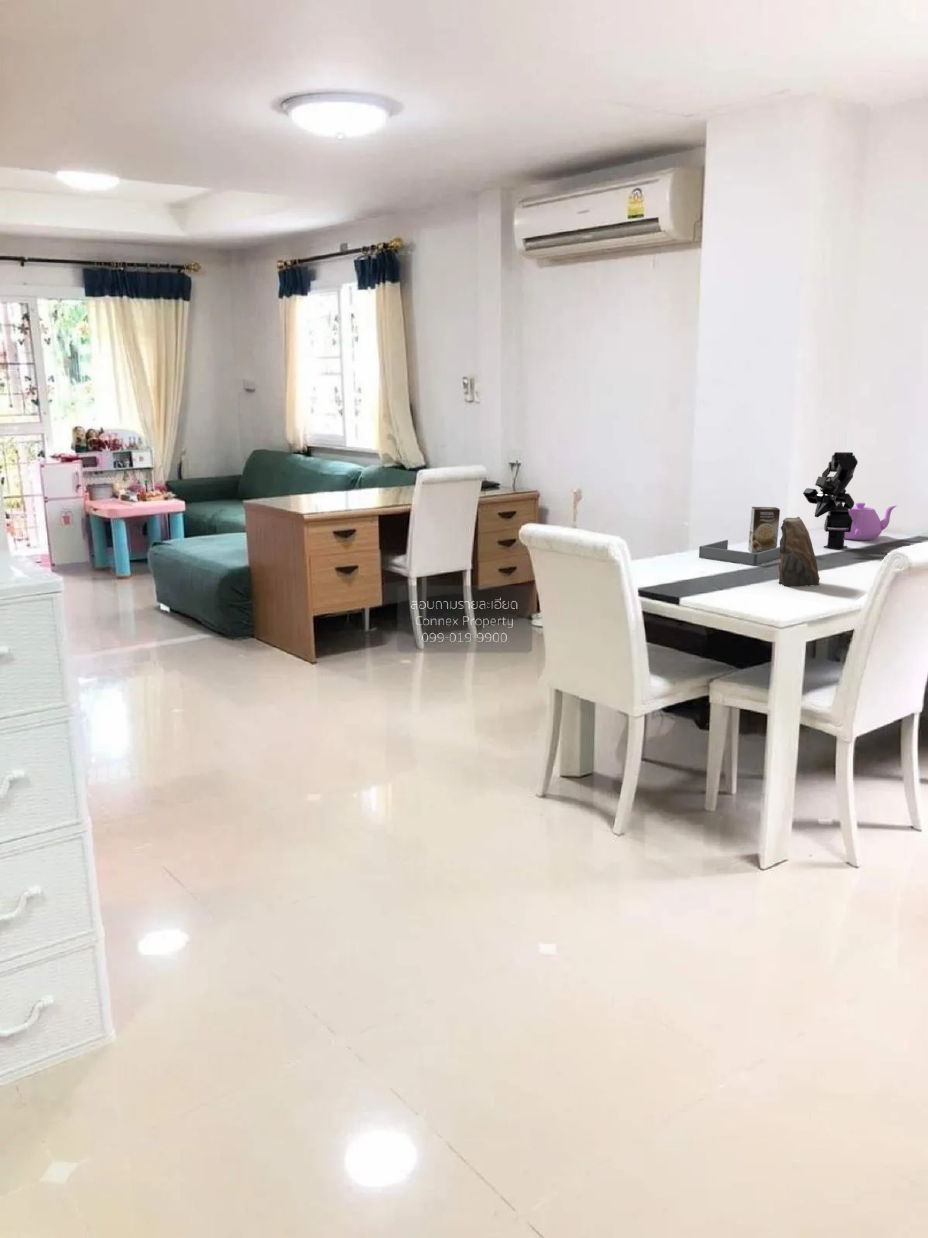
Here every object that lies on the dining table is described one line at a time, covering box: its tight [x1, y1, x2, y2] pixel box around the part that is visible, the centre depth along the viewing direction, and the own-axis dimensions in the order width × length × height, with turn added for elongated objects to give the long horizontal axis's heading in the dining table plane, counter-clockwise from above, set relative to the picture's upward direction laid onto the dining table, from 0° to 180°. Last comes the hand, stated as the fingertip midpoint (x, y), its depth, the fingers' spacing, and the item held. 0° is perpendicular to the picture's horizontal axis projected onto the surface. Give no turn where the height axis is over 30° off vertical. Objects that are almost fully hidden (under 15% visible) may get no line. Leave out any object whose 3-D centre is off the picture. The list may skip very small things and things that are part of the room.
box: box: [698, 539, 780, 567], centre depth 344 cm, size 18×22×4 cm
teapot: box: [842, 502, 898, 541], centre depth 379 cm, size 22×22×14 cm
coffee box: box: [747, 506, 781, 553], centre depth 354 cm, size 9×6×16 cm
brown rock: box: [777, 516, 820, 588], centre depth 304 cm, size 13×13×20 cm
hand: (815, 516), depth 348 cm, fingers closed
